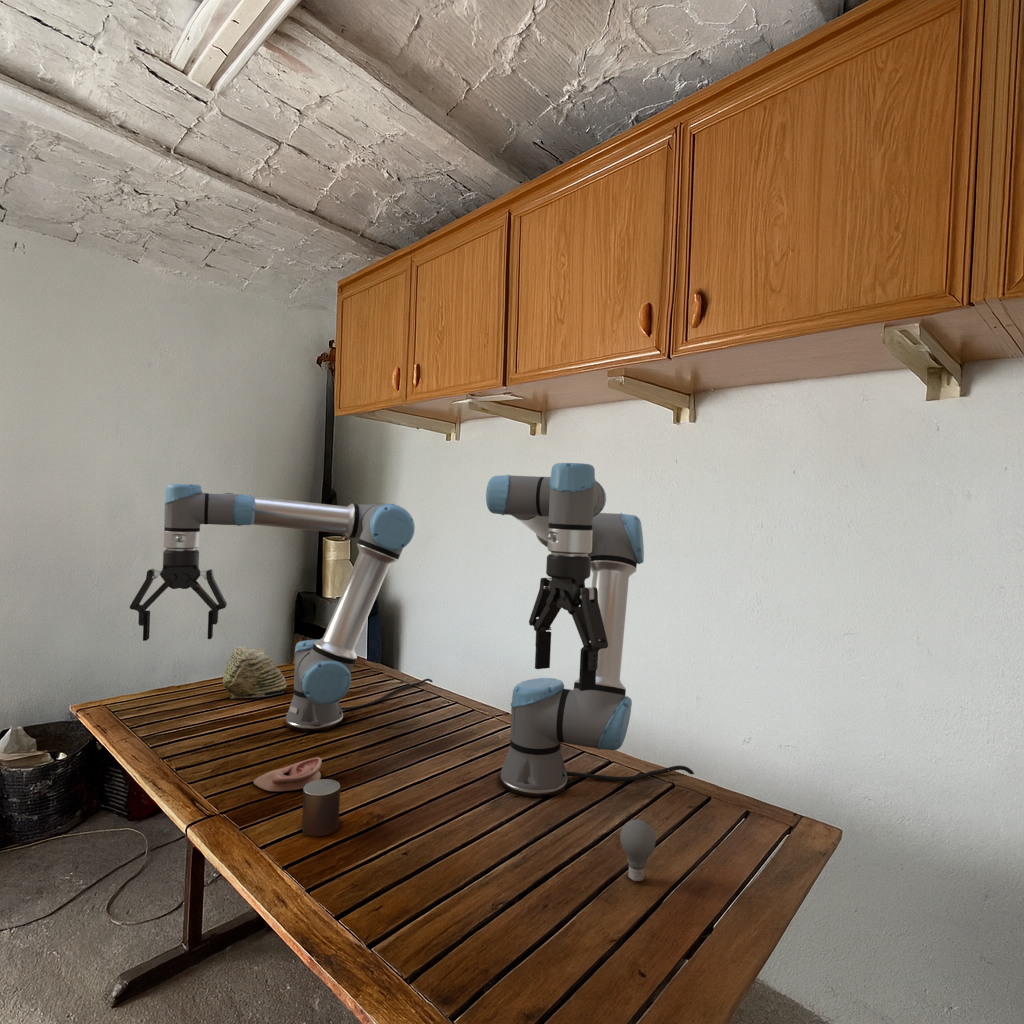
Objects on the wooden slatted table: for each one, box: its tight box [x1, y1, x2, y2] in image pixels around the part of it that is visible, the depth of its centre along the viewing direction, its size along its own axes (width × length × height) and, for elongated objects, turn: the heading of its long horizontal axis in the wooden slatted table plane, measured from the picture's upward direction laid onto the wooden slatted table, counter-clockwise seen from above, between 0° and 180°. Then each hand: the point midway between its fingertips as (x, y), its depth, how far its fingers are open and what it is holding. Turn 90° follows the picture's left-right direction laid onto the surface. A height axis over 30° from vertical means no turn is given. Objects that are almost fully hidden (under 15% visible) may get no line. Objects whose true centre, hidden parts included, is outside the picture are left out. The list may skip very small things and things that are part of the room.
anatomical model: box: [253, 757, 323, 792], centre depth 140 cm, size 13×4×12 cm
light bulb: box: [619, 819, 657, 882], centre depth 109 cm, size 6×6×10 cm
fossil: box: [222, 646, 288, 699], centre depth 198 cm, size 9×18×15 cm, turn 132°
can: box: [301, 778, 341, 838], centre depth 121 cm, size 7×7×8 cm
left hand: (178, 638), depth 150 cm, fingers open, 13 cm apart
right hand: (563, 678), depth 108 cm, fingers open, 13 cm apart
